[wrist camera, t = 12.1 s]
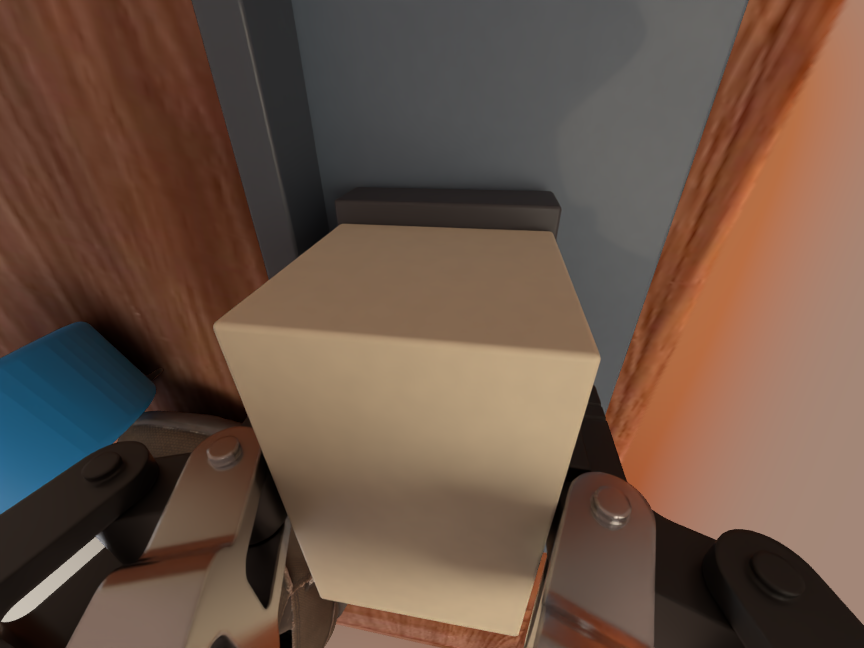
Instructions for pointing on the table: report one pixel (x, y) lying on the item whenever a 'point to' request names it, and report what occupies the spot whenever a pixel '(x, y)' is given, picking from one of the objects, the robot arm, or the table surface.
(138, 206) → the table surface
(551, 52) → the grey stand
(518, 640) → the table surface
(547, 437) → the tan stepped block
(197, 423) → the loafer
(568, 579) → the robot arm
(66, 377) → the alarm clock
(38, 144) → the table surface
